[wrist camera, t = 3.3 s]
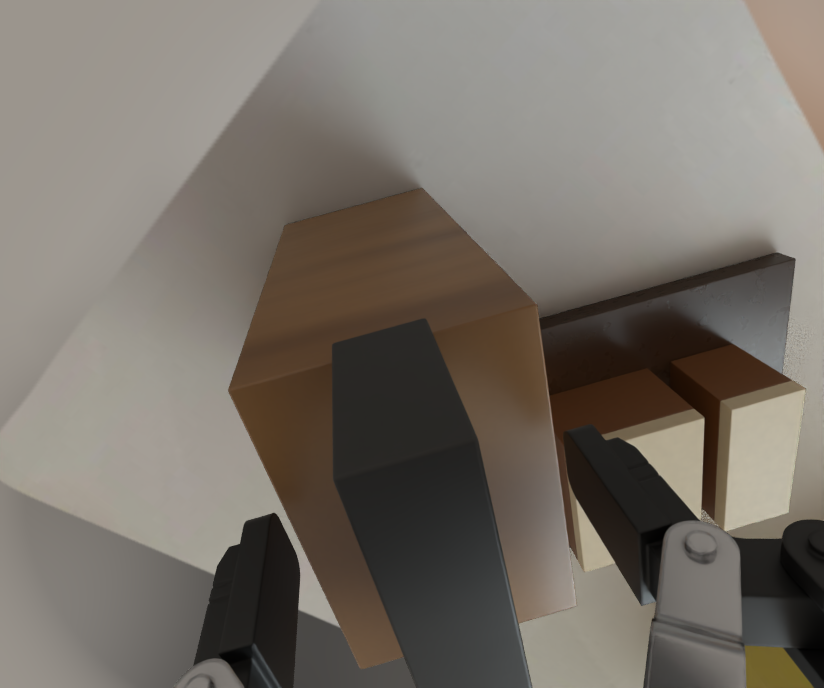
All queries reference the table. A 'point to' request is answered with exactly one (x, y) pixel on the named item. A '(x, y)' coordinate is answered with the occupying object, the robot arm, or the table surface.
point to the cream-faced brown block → (639, 426)
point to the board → (672, 324)
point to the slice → (742, 432)
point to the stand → (469, 368)
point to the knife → (423, 510)
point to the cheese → (772, 669)
